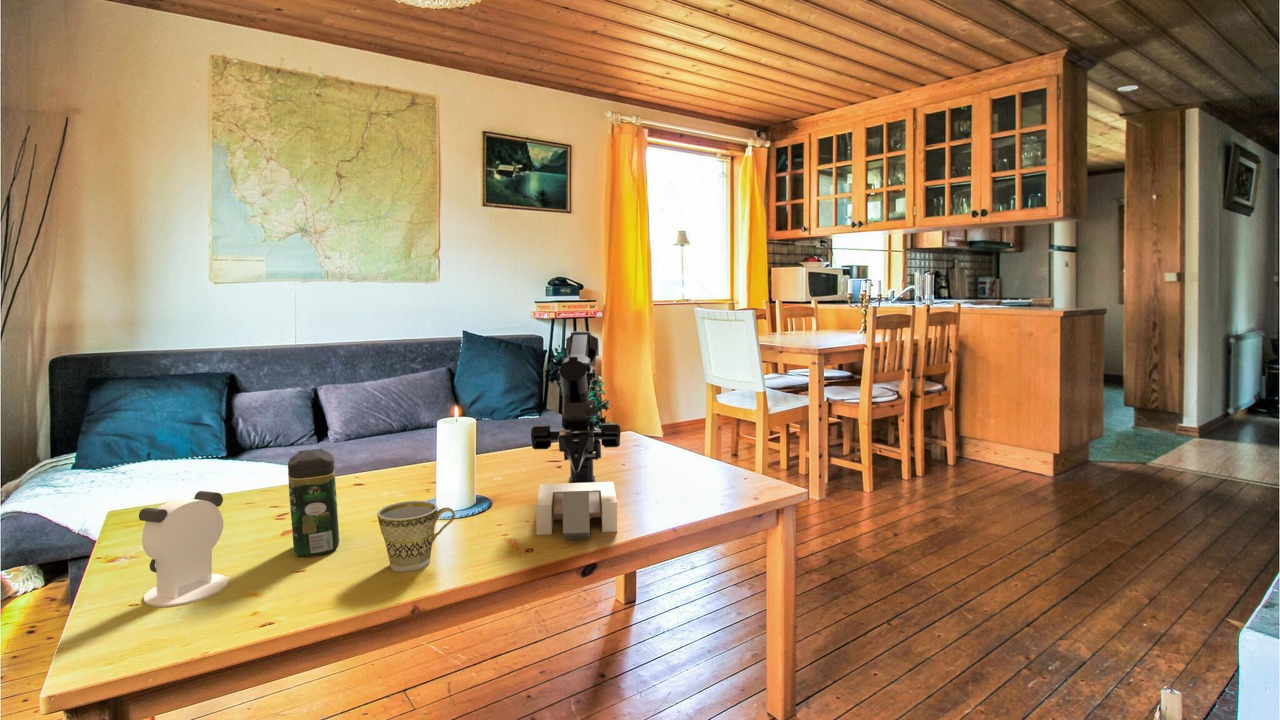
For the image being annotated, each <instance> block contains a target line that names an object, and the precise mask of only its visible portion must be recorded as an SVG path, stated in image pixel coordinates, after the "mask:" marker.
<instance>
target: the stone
mask: <svg viewBox="0 0 1280 720" xmlns="http://www.w3.org/2000/svg"><path fill="white" fill-rule="evenodd" d="M590 529H591V527H590V518H589V491H568V492H563V519H562V534H563V535H562V537H563V539H564V540H577V539H578V540H580V539H583V540H584V539H590V537H591V535H590V532H591V531H590Z"/></svg>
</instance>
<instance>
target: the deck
mask: <svg viewBox="0 0 1280 720" xmlns="http://www.w3.org/2000/svg"><path fill="white" fill-rule="evenodd" d="M539 484H540V485H539V489H538V493H537V498H536V502H535V503H536V504H535V527H536V528H535V531H536V535H537V536H543V535H552V534H553V528H554V520H563V517H557V518H553V512H554V497H555V493H558V492H568V491H599V503H600V516H589V519H600V520H601V532H602V533H615V532H617V533H618V500H617V496H616V488H615V482H614V481H598V482H597V481H595V482H589V483H569V482H568V483H567V482H565V483H564V482H563V483H539Z"/></svg>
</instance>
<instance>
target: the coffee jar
mask: <svg viewBox="0 0 1280 720" xmlns="http://www.w3.org/2000/svg"><path fill="white" fill-rule="evenodd" d="M287 463H288V464H287V469H288V470H287V471H288V472H287V473H288V474H287V475H288V476H287V477H288V492H289V494H288V497H289V508H290V518H291V531H292V543H293V551H294V553H295V554H296V556H300V557H301V556H302V557H303V556H304V557H305V556H306V557H317V556H321V555H324V554H326V553H329V552H333V551H335V550H336V549H338V547H339V545H340V544H339V543H340V530H339V519H338V518H339V517H338V501H337V500H338V499H337V489H336V488H337V485H336V472H335V471H336V470H335V457H334V456H333V455H332V453H331V452H328V451H326V450H324V449H322V448H316V449H307V450H299V451H298V452H297V453H296V454H294V455H293V456H291V457H290V458H289V460H288V462H287Z"/></svg>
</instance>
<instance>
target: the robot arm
mask: <svg viewBox="0 0 1280 720" xmlns="http://www.w3.org/2000/svg"><path fill="white" fill-rule="evenodd" d="M565 341H566V343H565V344H566V346H565V347H566V348H565V353H566V357H565V358H564V359H563V362H562V363H561V364H562V365H560V366H559V369H558V372H557V379H558V382H560V387H561V392H562V414H561V427H562V428H560V429H558V431H556V430H555V431H552V430H551V425H550V424H541V425H539V424H537V425H533V426H532V427H531V430H530V439H531V446H532V447H531V448H532V449H533V450H536V451H537V450H548V449H549V448H550V447H552V442H558V451H559V452H561V453H563V459H564V461H569V463H570V465H569V466H570V468H569V469H570V471H569V472H570V476H569V477H568V483H589V482H596V476H595V475H594V460H596V461H598V460H599V459H601V458H602V448H601V446H602V447H604V448H605V449H606V448H618V447H620V445H621V426H620V425H619V424H618V422H617V423H616V422H615V423H614V422H613V423H612V422H611V423H608V422H607V423H601V429H595V427H596V426H595V425H594V423H593V421H592V420H591V418H590V417H597V401H596V400H595V399H590V398H591V383H592V382H594V381H595V378H596V377H597V370H595V366H596V365H597V357H599V355H600V354H599V352H600V351H599V346H600V344H599V338H598V337H596V336H594V335H592V334H591V332H590V331H588V330H580V331H578V330H576V331H575V330H574V331H571V332H570V336H568V337H567V338H566V339H565Z"/></svg>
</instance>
